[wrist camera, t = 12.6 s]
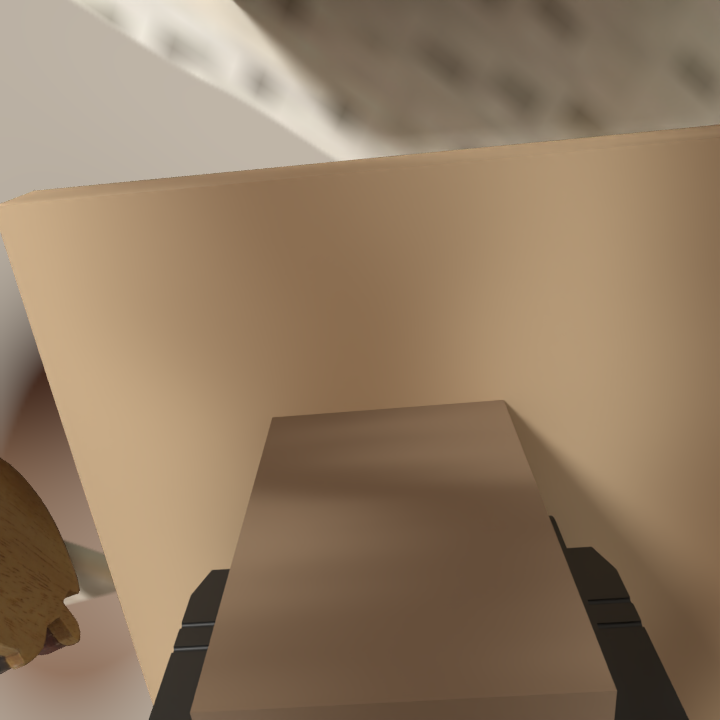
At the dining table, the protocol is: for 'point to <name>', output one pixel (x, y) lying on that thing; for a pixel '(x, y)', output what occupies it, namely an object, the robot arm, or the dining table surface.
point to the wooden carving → (31, 576)
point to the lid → (398, 418)
